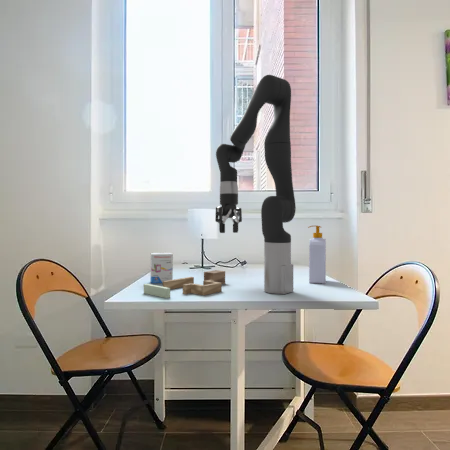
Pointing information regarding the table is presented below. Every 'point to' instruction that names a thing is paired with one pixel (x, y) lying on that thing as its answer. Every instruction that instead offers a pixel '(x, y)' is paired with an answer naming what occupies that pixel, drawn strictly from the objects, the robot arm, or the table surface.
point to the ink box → (161, 267)
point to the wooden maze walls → (194, 286)
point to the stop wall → (157, 290)
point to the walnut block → (215, 276)
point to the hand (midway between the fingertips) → (229, 232)
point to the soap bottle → (317, 258)
